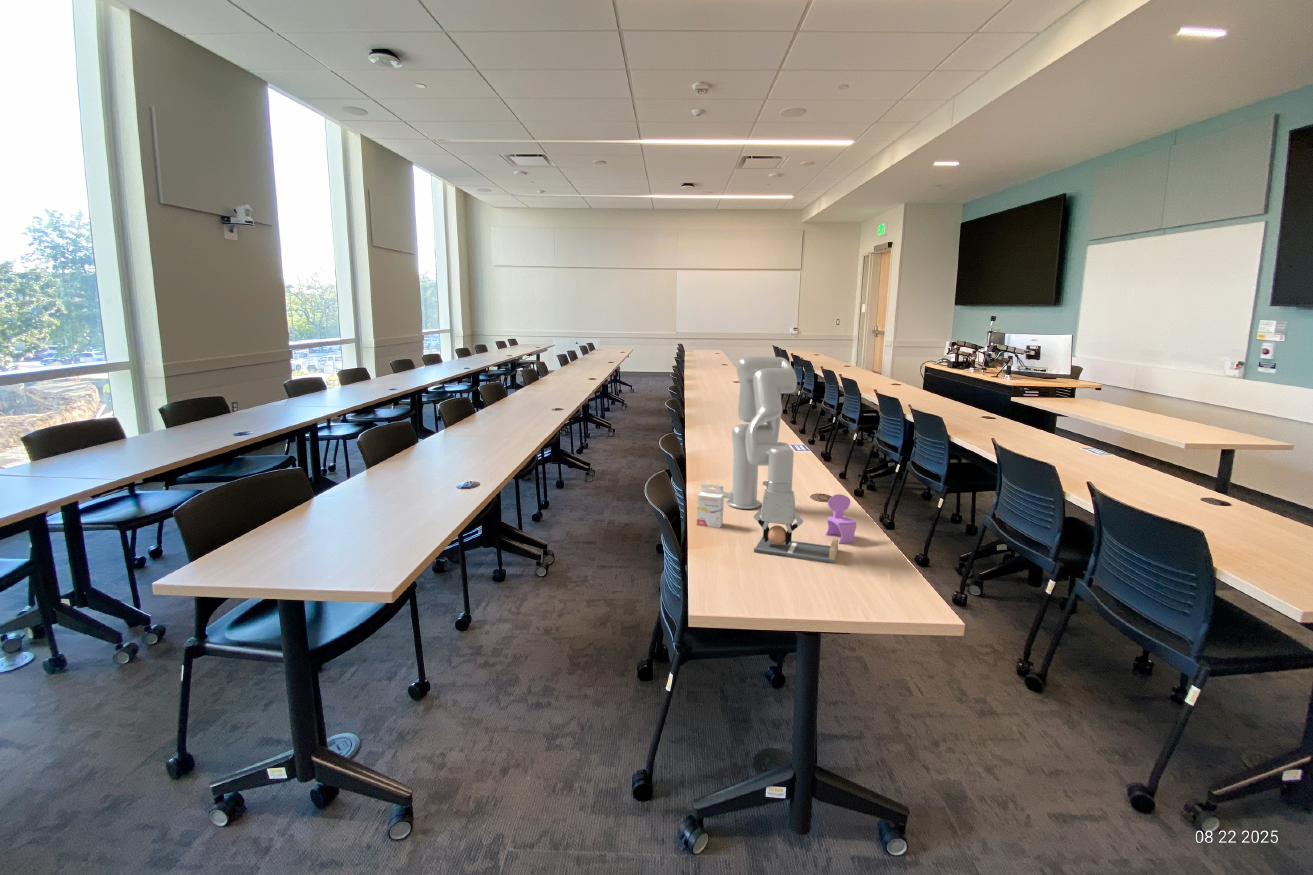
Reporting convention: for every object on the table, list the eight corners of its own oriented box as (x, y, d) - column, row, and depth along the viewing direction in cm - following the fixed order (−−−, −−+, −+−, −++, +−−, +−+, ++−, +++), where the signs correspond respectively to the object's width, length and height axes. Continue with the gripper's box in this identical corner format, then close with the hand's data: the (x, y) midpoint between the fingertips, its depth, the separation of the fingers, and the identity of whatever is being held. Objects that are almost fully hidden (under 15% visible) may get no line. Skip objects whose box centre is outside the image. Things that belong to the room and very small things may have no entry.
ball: (765, 545, 187) (766, 527, 186) (769, 539, 193) (770, 522, 192) (784, 548, 185) (785, 529, 184) (788, 542, 190) (789, 524, 189)
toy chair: (836, 545, 192) (838, 500, 190) (821, 537, 201) (824, 493, 198) (858, 543, 195) (861, 499, 192) (843, 535, 203) (846, 492, 200)
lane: (753, 552, 186) (754, 539, 185) (761, 540, 197) (762, 528, 196) (833, 563, 177) (834, 550, 176) (837, 550, 188) (838, 538, 187)
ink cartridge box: (696, 527, 210) (697, 486, 207) (699, 523, 214) (700, 483, 212) (720, 529, 207) (721, 488, 204) (723, 525, 211) (724, 485, 209)
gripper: (749, 486, 185) (747, 541, 188) (806, 492, 179) (803, 549, 182) (754, 481, 192) (752, 534, 195) (809, 486, 186) (806, 542, 189)
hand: (777, 541), depth 189 cm, fingers closed on ball, 5 cm apart
